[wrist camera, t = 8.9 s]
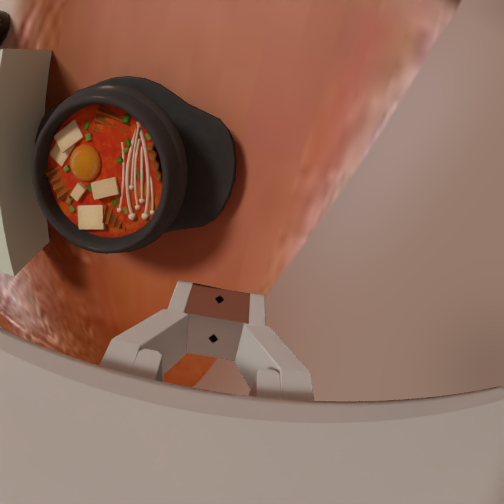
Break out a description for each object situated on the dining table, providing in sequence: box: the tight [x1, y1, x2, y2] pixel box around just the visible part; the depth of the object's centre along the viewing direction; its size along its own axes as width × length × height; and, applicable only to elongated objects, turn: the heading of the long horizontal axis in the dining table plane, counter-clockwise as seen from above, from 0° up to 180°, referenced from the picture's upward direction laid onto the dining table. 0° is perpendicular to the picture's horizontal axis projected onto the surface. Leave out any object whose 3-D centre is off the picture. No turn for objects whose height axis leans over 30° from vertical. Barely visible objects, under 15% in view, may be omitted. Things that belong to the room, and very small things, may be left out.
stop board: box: [0, 49, 52, 276], centre depth 25 cm, size 3×26×9 cm, turn 169°
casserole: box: [32, 76, 236, 254], centre depth 27 cm, size 25×19×8 cm
